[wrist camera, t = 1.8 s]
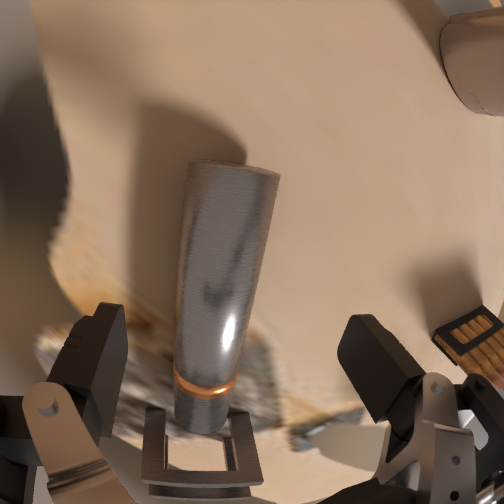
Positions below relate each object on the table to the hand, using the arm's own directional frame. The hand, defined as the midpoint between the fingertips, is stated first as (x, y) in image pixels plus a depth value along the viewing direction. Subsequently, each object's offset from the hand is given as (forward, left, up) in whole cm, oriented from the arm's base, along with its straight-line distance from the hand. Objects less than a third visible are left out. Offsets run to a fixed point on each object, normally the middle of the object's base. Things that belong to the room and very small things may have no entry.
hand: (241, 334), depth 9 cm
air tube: (+5, 0, -9) cm, 11 cm away
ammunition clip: (+7, +31, -9) cm, 33 cm away
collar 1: (+19, 0, -9) cm, 21 cm away
